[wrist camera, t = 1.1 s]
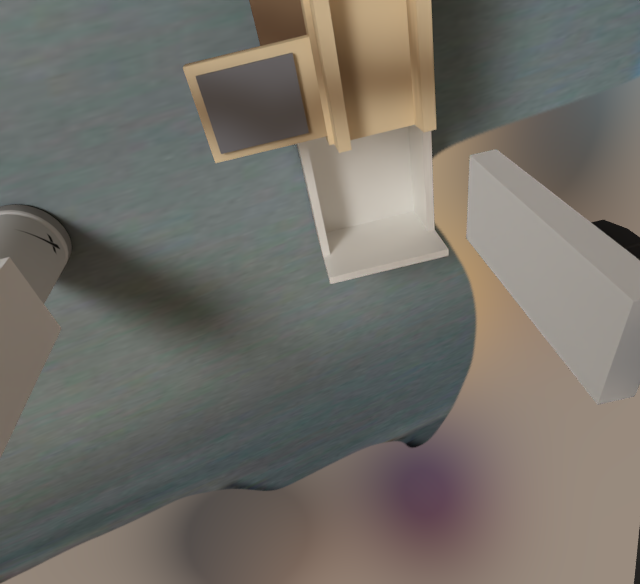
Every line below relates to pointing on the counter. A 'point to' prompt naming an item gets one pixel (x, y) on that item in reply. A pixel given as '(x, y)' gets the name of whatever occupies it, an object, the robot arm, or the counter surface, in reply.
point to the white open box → (372, 202)
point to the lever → (322, 80)
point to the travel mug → (34, 245)
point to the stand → (278, 20)
